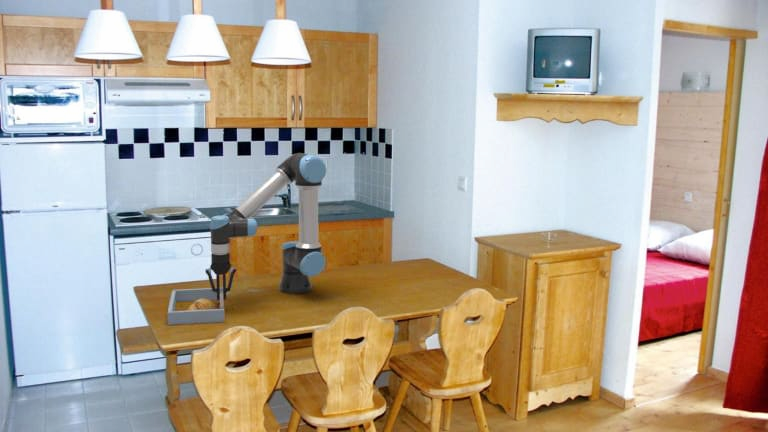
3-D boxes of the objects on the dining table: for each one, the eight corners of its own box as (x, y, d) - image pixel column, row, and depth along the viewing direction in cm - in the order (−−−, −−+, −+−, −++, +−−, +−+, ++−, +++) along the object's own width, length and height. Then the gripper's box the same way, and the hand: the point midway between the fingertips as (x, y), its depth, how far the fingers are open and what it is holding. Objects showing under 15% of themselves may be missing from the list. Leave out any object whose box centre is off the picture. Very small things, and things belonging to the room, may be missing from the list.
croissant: (187, 330, 283) (193, 315, 279) (171, 315, 286) (177, 300, 283) (224, 315, 301) (230, 301, 298) (208, 301, 304) (214, 287, 301)
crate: (223, 298, 315) (223, 287, 314) (224, 321, 283) (224, 309, 283) (172, 300, 310) (172, 289, 309) (167, 324, 278) (167, 312, 278)
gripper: (236, 250, 299) (237, 303, 303) (204, 251, 296) (206, 305, 300) (236, 254, 292) (237, 308, 296) (204, 255, 289) (205, 310, 293)
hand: (221, 307), depth 298 cm, fingers closed
